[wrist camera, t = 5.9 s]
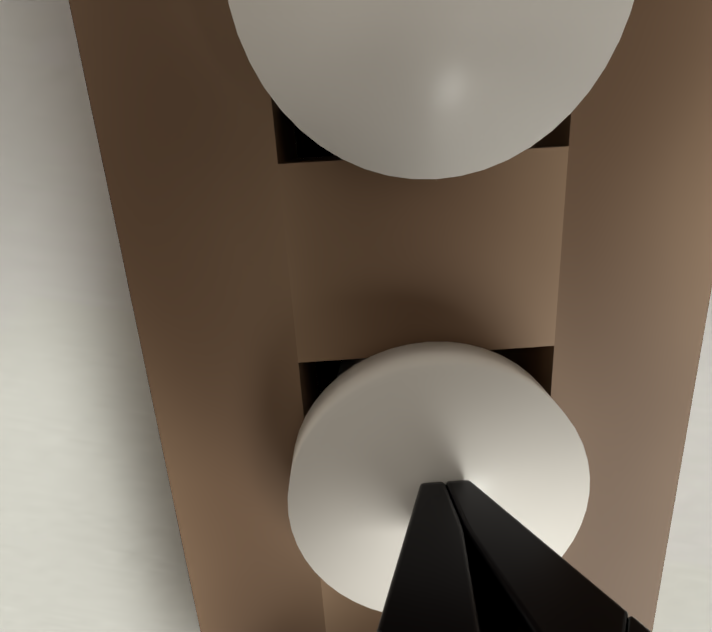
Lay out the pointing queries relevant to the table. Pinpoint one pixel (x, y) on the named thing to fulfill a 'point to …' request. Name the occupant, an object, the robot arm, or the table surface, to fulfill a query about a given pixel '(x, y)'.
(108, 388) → the table surface
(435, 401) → the knob middle
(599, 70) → the knob
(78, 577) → the table surface
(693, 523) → the table surface
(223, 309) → the knob mount
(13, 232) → the table surface
